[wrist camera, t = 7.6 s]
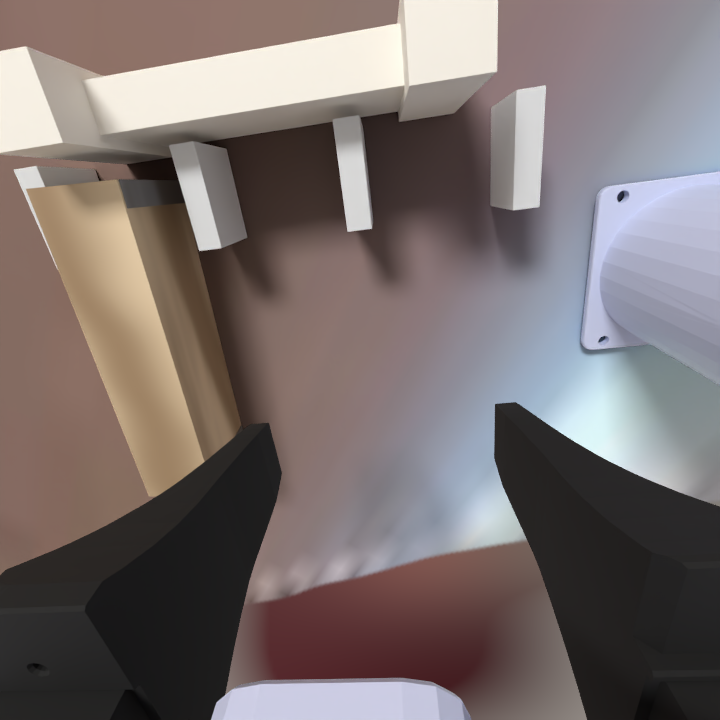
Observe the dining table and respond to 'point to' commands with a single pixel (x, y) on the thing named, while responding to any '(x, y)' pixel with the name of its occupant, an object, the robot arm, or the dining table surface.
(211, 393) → the rail
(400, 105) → the white comb rack
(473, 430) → the dining table surface
